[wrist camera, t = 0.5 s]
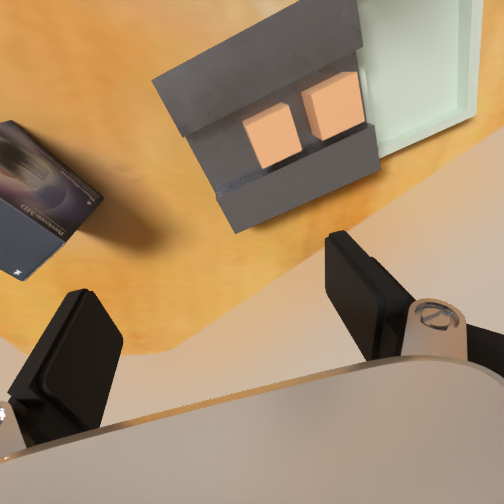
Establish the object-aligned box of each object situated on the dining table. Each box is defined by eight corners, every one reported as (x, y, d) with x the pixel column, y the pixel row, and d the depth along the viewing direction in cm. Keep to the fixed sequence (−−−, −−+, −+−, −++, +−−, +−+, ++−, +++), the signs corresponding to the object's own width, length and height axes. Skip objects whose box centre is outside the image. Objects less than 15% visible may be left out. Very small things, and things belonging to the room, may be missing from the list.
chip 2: (342, 71, 25) (356, 71, 22) (350, 116, 27) (364, 121, 24) (300, 92, 25) (310, 94, 23) (312, 134, 27) (322, 140, 25)
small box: (108, 196, 31) (69, 244, 22) (72, 229, 33) (23, 286, 24) (11, 115, 26) (-90, 136, 17) (-26, 159, 27) (-135, 200, 19)
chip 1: (280, 102, 25) (288, 105, 23) (293, 143, 27) (302, 150, 25) (241, 121, 26) (245, 126, 23) (257, 160, 28) (262, 168, 25)
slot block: (330, -13, 24) (352, -29, 20) (361, 158, 32) (380, 169, 29) (159, 79, 26) (151, 80, 22) (232, 216, 34) (235, 234, 31)
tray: (468, -87, 22) (489, -100, 21) (461, 112, 31) (476, 115, 29) (330, -13, 24) (339, -19, 22) (361, 158, 32) (369, 163, 31)
